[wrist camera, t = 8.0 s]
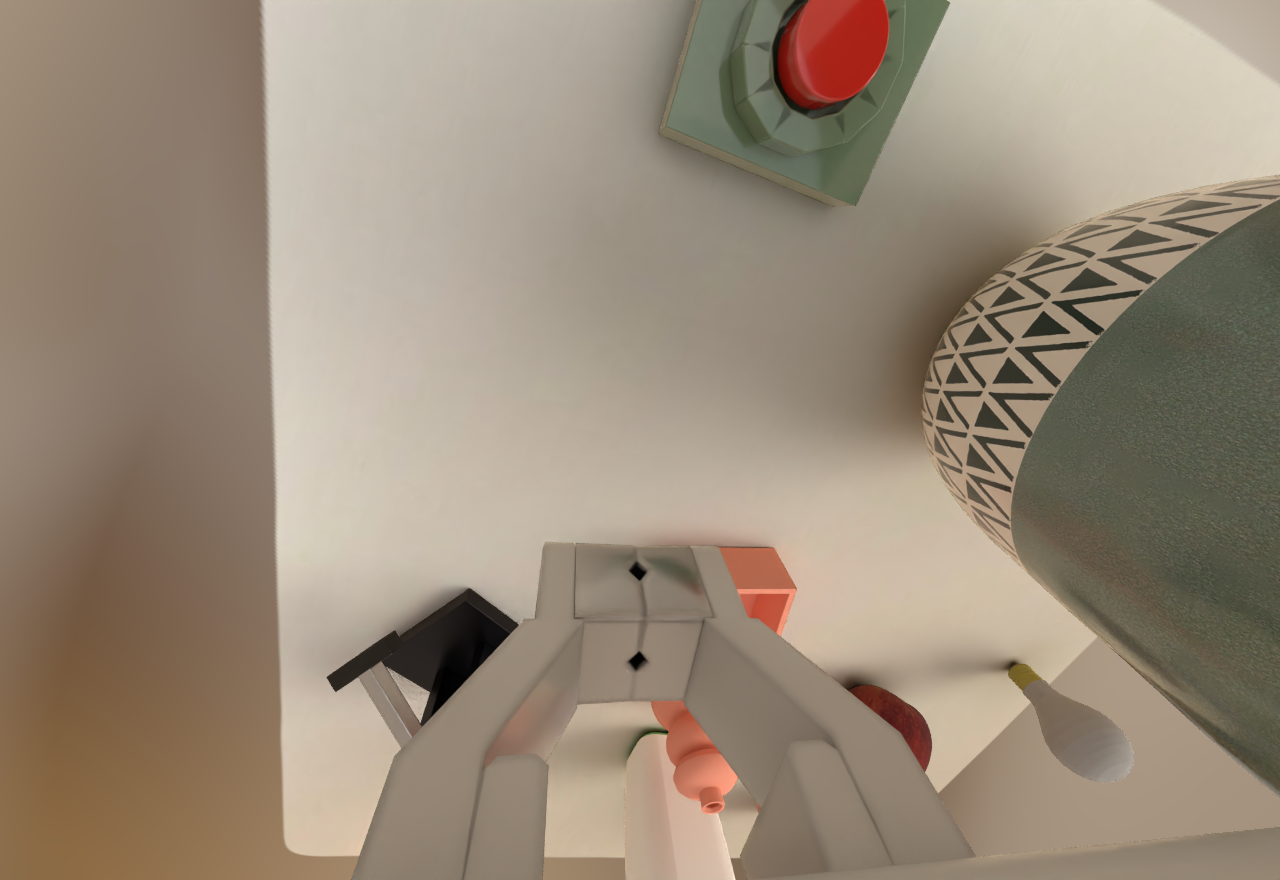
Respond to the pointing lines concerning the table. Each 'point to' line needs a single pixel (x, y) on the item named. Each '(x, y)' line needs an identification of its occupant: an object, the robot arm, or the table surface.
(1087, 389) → the planter
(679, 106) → the control block
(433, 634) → the bracket
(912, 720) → the apple
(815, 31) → the button
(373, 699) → the lever
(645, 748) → the cup
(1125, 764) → the light bulb
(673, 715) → the pottery
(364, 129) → the table surface
